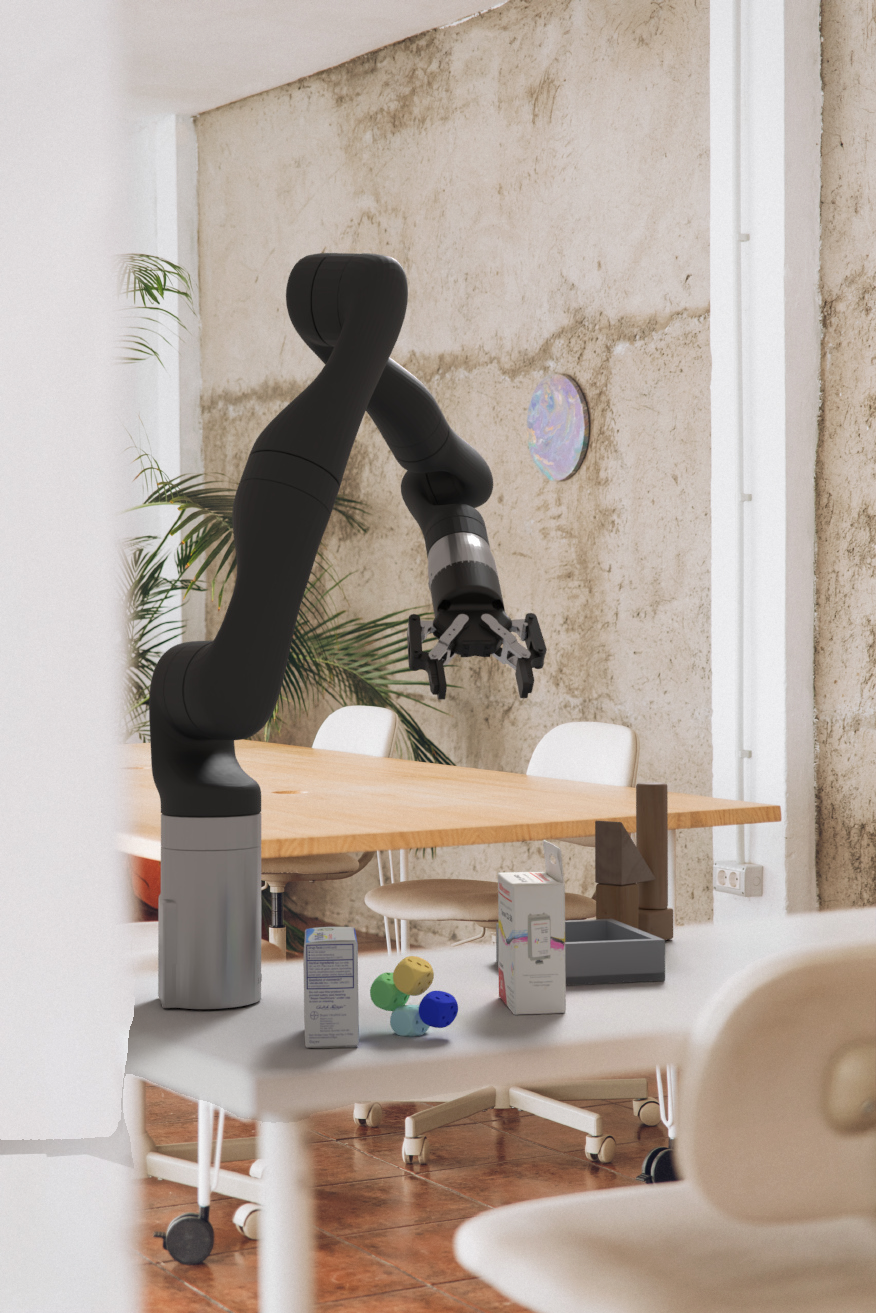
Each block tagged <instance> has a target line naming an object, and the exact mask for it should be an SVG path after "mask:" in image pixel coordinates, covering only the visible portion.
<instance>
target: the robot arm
mask: <svg viewBox="0 0 876 1313" xmlns="http://www.w3.org/2000/svg"><path fill="white" fill-rule="evenodd" d="M286 283H287V284H286V290H285V304H286V310H287V313H288V316H289V317H288V318H289V320H290V321H291V324H292V326H293V328H294V331H296V333H297V335H299V337H300V339H301V340H302V341H303V342H304V344H306V346H307V347H308V348H309V349H310V350H311V351H312V352H313V353H314V354H315V355H316V356H317V358H318V359H319V360H321V362H322V363H323V364H324V366H323V368H322V369H321V371H320V372H319V374H317V375H316V377H315V378H314V380H312V381H311V383H310V384H308V386H306V387H305V388H304V390H302V392H301V391H300V393H299V394H298V395H297V396H296V397H295V398H294V399H292V401H290V402H289V404H287V405H286V406H285V407H284V408H283V409H281V411H280V412H279V413H278V414H277V415H275V417H273V419H272V420H270V421H269V423H268V424H267V425H266V426H265V428H264V429H263V430H262V431H261V432H260V433H259V434H258V437H256V439H255V441H254V443H253V445H252V447H251V450H250V452H249V454H248V457H247V459H246V463H245V466H244V469H243V471H242V475H241V477H240V480H239V484H238V485H237V489H236V491H235V495H234V500H233V504H232V533H233V543H234V548H235V557H236V578H235V582H234V588H233V591H232V595H231V598H230V601H229V603H228V606H227V609H226V612H225V615H224V618H223V620H222V622H221V625H220V627H219V629H218V631H217V634H216V635H215V637H214V638H213V639H212V640H192V641H185V642H180V643H177V644H175V645H173V646H171V647H170V648H168V649H167V650H166V651H165V652H164V653H163V654H162V655H161V656H160V658H159V660H158V661H157V663H156V665H155V667H154V669H153V673H152V676H151V681H150V685H149V696H148V699H149V700H148V714H149V716H148V717H149V720H148V721H149V738H150V742H149V743H150V757H151V758H150V761H151V764H150V766H151V773H152V778H153V783H154V784H155V787H156V790H157V792H158V794H159V799H160V801H159V802H160V893H159V895H158V901H157V902H158V908H157V909H158V913H157V914H158V919H157V921H158V928H157V930H158V932H157V934H158V936H157V937H158V938H157V939H158V941H157V942H158V945H157V946H158V947H157V948H158V954H157V956H158V957H157V962H158V967H157V968H158V970H157V971H158V973H157V974H158V977H157V978H158V982H157V984H158V985H157V986H158V987H157V988H158V990H157V992H158V993H157V994H158V999H159V1002H160V1005H161V1006H162V1008H163V1009H170V1008H172V1009H173V1008H175V1009H177V1008H178V1009H179V1008H180V1009H186V1010H187V1009H191V1010H217V1009H218V1010H219V1009H221V1010H222V1009H228V1008H229V1009H230V1008H237V1007H238V1008H239V1007H243V1006H249V1005H252V1004H255V1003H257V1002H260V1001H261V1000H262V982H263V979H262V978H263V977H262V976H263V975H262V790H261V786H260V784H259V783H258V782H257V781H256V780H255V779H254V778H253V777H251V776H250V775H249V774H248V773H246V772H245V770H244V769H243V768H242V766H241V765H240V763H239V761H238V758H237V756H236V747H235V741H240V740H245V739H247V738H249V739H250V737H253V736H254V735H256V734H257V733H259V732H260V731H261V730H262V729H263V728H264V727H265V726H266V725H267V723H268V721H270V719H271V717H272V716H273V713H274V711H275V709H276V707H277V705H278V704H277V703H278V701H279V698H280V694H281V690H282V686H283V683H284V678H285V673H286V671H287V670H286V669H287V664H288V661H289V656H290V652H291V646H292V643H293V642H292V641H293V639H294V633H295V629H296V624H297V620H298V616H299V613H300V609H301V605H302V602H303V599H304V596H305V592H306V589H307V586H308V583H309V580H310V576H311V574H312V570H313V566H314V564H315V560H316V558H317V554H318V550H319V548H320V544H321V542H322V540H323V536H324V534H325V531H326V529H327V526H328V523H329V521H330V518H331V515H332V513H333V509H334V506H335V503H336V500H337V498H338V494H339V492H340V489H341V487H342V486H341V485H342V481H343V479H344V474H345V471H346V467H347V465H348V463H349V462H348V461H349V459H350V456H351V452H352V449H353V447H354V443H355V441H356V438H357V435H358V432H359V429H360V426H361V424H362V421H363V420H364V419H363V418H364V417H365V414H366V413H367V414H368V416H369V417H370V418H371V420H372V422H373V424H374V425H375V426H376V428H377V429H378V430H377V431H379V433H380V435H381V436H382V438H383V440H384V441H385V443H386V444H387V446H388V448H389V449H390V451H391V453H392V455H393V456H394V458H395V460H396V461H397V463H398V464H399V466H401V467H402V469H404V470H406V472H405V473H404V475H403V477H402V479H401V482H400V493H401V494H400V495H401V498H402V500H403V502H404V504H405V506H406V508H407V510H408V511H409V513H410V515H411V516H412V517H413V519H414V521H415V522H416V523H417V526H419V529H420V530H421V533H422V536H423V539H424V543H425V552H426V556H427V576H428V582H427V585H428V588H429V591H430V596H431V603H432V609H433V616H434V618H433V620H422V619H421V617H420V615H419V614H416V613H413V614H412V613H411V614H410V615H409V616H408V620H407V621H408V622H407V628H406V629H407V630H406V641H407V644H406V645H407V655H408V656H407V658H408V659H407V660H408V668H409V670H411V671H413V672H416V671H419V670H423V671H425V672H426V673H427V678H428V683H429V688H430V689H429V691H430V692H431V694H432V695H436V696H437V700H438V701H439V700H442V701H443V700H446V695H447V686H448V685H447V679H446V673H445V667H444V666H448V665H449V663H450V662H451V661H452V660H453V658H455V656H456V655H458V656H460V658H471V657H480V658H490V657H491V656H492V657H494V658H495V659H496V660H498V662H500V663H501V664H503V665H506V664H507V665H508V666H509V667H511V668H512V669H514V671H515V672H514V673H515V679H516V686H517V690H518V694H519V699H528V696H529V694H532V693H533V690H534V684H535V677H534V671H533V668H534V669H536V670H541V669H543V667H544V664H545V662H544V661H545V658H546V655H547V649H548V648H547V646H546V643H545V639H544V636H543V632H542V630H541V626H540V623H539V619H538V617H537V614H535V613H532V612H527V613H526V614H525V617H524V618H521V619H520V618H519V619H511V618H510V616H509V615H508V614H507V613H506V609H505V604H504V599H503V595H502V588H501V585H500V580H499V575H498V574H499V573H498V569H497V564H496V562H495V561H496V560H495V558H494V556H493V553H492V550H491V547H490V542H489V537H488V536H489V535H488V531H487V526H486V523H485V520H484V518H483V515H482V514H481V513H480V511H479V510H477V508H479V507H481V506H483V505H484V504H486V503H487V502H488V501H489V499H491V496H492V493H493V490H494V478H493V474H492V471H491V468H490V466H489V465H488V463H487V461H486V460H485V458H484V457H483V456H482V455H481V454H480V452H478V451H477V449H476V448H475V447H473V446H472V445H471V444H470V443H468V442H467V441H466V440H465V439H463V438H462V437H461V436H460V435H459V434H458V433H456V432H455V430H454V429H453V428H451V426H450V424H449V422H448V421H447V419H446V417H445V415H444V413H443V412H442V409H441V408H440V406H439V404H438V402H437V400H436V398H435V397H434V396H433V394H432V393H431V391H430V390H429V388H428V387H426V385H425V384H424V383H422V381H421V380H419V378H418V377H416V376H415V375H414V374H412V373H411V372H410V371H409V370H407V369H406V368H405V367H403V366H402V365H401V364H399V362H397V361H395V360H394V359H393V358H391V357H390V356H392V355H391V354H393V353H392V352H393V350H394V348H395V346H396V344H397V341H398V338H399V336H400V333H401V330H402V327H403V324H404V322H405V317H406V314H407V307H408V300H409V299H408V297H409V286H408V284H409V283H408V278H407V275H406V272H405V270H404V268H403V265H401V263H400V262H399V261H398V260H397V259H396V258H393V257H392V256H389V255H385V254H380V253H379V254H377V253H364V252H362V253H353V252H352V253H351V252H349V253H348V252H347V253H344V252H341V253H340V252H321V253H320V252H319V253H313V254H308V255H306V256H304V257H302V258H300V259H299V260H298V261H297V262H296V263H294V266H293V267H292V269H291V271H290V273H289V276H288V279H287V282H286ZM514 633H515V634H517V635H518V637H519V638H520V641H521V642H525V646H526V647H524V646H523V645H522V644H521V643H519V641H518V639H517V636H516V635H514ZM429 634H432V636H434V637H435V639H437V640H438V641H437V643H436V644H435V645H434V646H433V647H432V649H431V650H430V651H429V652H427V651H424V650H423V642H424V640H426V639H427V638H428V636H429Z"/></svg>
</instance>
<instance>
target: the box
mask: <svg viewBox="0 0 876 1313" xmlns="http://www.w3.org/2000/svg"><path fill="white" fill-rule="evenodd" d="M498 928H499V922H496V923H495V933H496V934H495V937H496V938H495V939H496V940H495V943H496V944H495V946H496V947H495V949H496V950H495V958H496V960H495V961H496V962H497V961H498V962H499V934H498ZM498 962H497V963H498ZM565 976H566V986H579V985H600V984H620V983H622V984H623V983H624V984H625V983H638V982H639V983H642V982H643V983H646V982H660V981H661V982H662V981H663V982H664V981H666V940H664V939H662V938H659V937H657V936H654V935H652V934H649V933H647V932H644V931H642V930H639V929H637V928H634V927H632V926H629V925H627V924H624V923H622V922H619V921H617V920H614V919H596V918H595V919H570V920H565Z"/></svg>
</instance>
